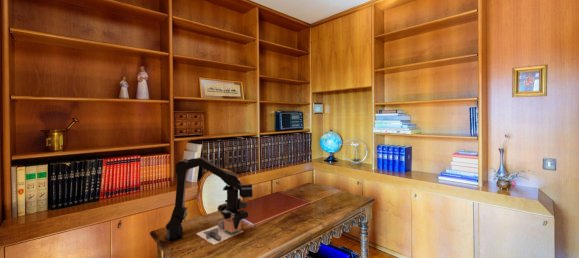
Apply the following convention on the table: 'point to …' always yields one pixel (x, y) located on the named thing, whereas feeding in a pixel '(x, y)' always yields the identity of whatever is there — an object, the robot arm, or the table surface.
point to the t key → (213, 234)
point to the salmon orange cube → (231, 225)
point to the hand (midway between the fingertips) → (232, 227)
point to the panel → (219, 233)
